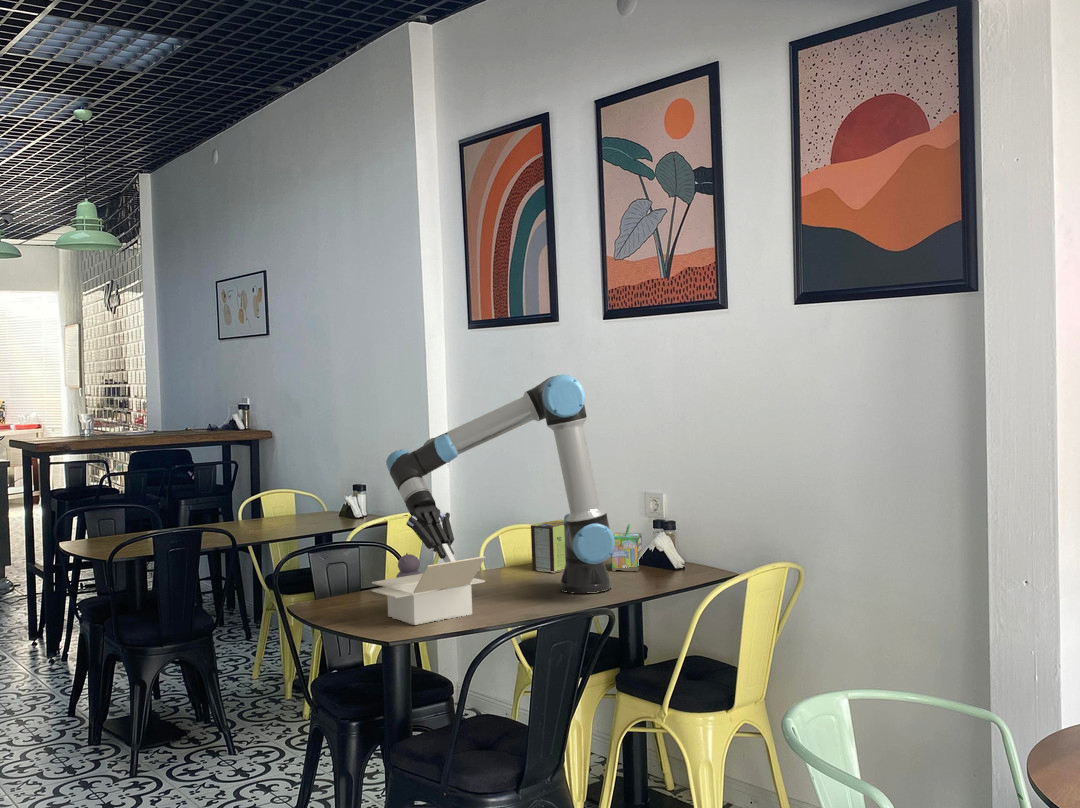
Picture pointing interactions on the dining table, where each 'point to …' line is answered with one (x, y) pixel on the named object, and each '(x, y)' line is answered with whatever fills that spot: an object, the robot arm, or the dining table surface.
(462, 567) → the flap
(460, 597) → the carton
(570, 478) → the robot arm
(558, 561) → the protein box
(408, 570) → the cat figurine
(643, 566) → the dining table surface
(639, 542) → the chalk box
